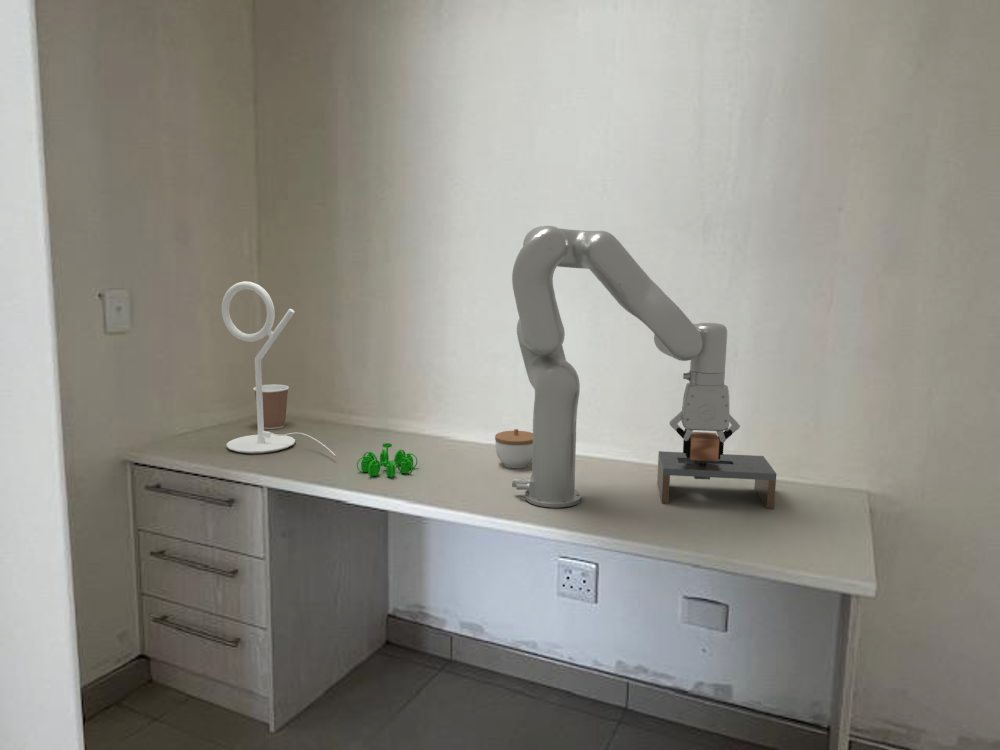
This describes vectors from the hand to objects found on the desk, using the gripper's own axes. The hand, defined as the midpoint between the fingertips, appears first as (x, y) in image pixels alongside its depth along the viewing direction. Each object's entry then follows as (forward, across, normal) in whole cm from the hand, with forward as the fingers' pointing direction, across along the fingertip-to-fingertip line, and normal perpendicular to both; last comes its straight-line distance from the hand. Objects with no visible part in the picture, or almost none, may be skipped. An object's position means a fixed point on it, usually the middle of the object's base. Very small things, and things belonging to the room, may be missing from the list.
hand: (702, 456), depth 178 cm
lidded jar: (+9, -44, +17) cm, 48 cm away
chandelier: (+9, -75, +7) cm, 76 cm away
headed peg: (+5, 0, 0) cm, 5 cm away
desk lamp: (+9, -107, +22) cm, 110 cm away
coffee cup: (+9, -121, +45) cm, 130 cm away
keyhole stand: (+9, +3, 0) cm, 10 cm away
